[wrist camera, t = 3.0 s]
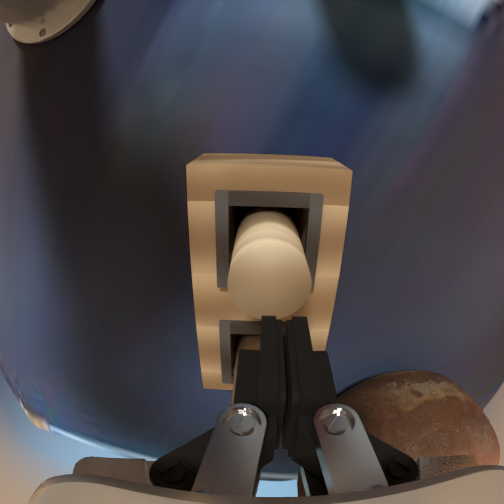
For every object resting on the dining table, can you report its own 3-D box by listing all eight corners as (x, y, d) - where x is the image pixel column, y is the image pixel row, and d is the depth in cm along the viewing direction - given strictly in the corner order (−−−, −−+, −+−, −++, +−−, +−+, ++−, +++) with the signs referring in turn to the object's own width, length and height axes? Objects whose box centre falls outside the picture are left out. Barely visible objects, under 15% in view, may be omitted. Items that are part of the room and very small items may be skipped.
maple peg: (236, 204, 20) (226, 245, 14) (299, 206, 20) (315, 248, 14) (236, 261, 22) (228, 318, 16) (294, 262, 22) (306, 320, 16)
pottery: (295, 347, 31) (318, 597, 8) (476, 325, 30) (573, 482, 7) (288, 451, 41) (294, 597, 18) (424, 430, 40) (463, 553, 17)
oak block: (203, 153, 24) (183, 166, 18) (331, 157, 23) (355, 172, 17) (211, 345, 31) (202, 393, 25) (308, 347, 31) (316, 395, 25)
